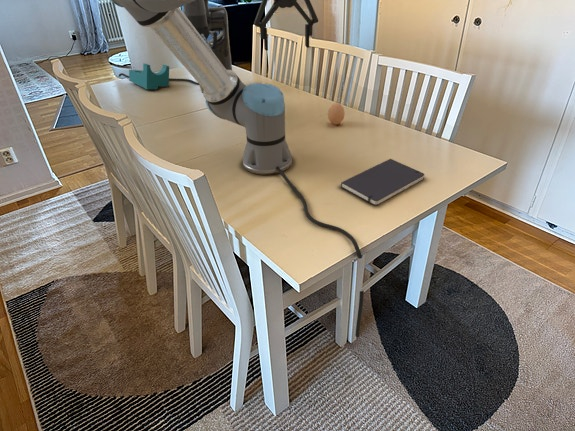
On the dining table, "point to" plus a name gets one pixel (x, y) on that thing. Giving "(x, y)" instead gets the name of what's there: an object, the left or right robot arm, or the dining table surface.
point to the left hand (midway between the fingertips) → (202, 61)
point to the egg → (336, 113)
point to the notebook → (382, 181)
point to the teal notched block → (150, 77)
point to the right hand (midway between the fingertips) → (286, 48)
